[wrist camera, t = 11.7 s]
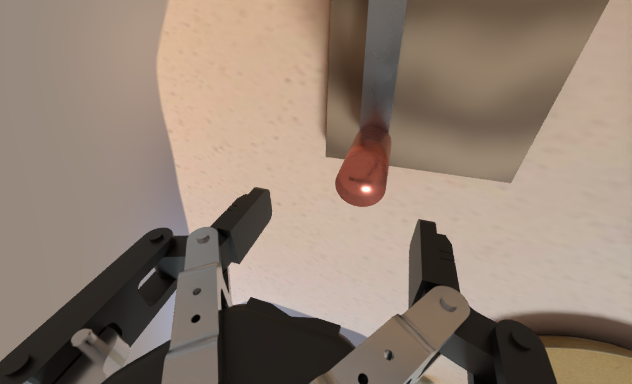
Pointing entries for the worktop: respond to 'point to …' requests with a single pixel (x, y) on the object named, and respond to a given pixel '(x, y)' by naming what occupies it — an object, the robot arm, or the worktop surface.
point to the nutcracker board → (460, 79)
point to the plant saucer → (587, 361)
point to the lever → (374, 107)
